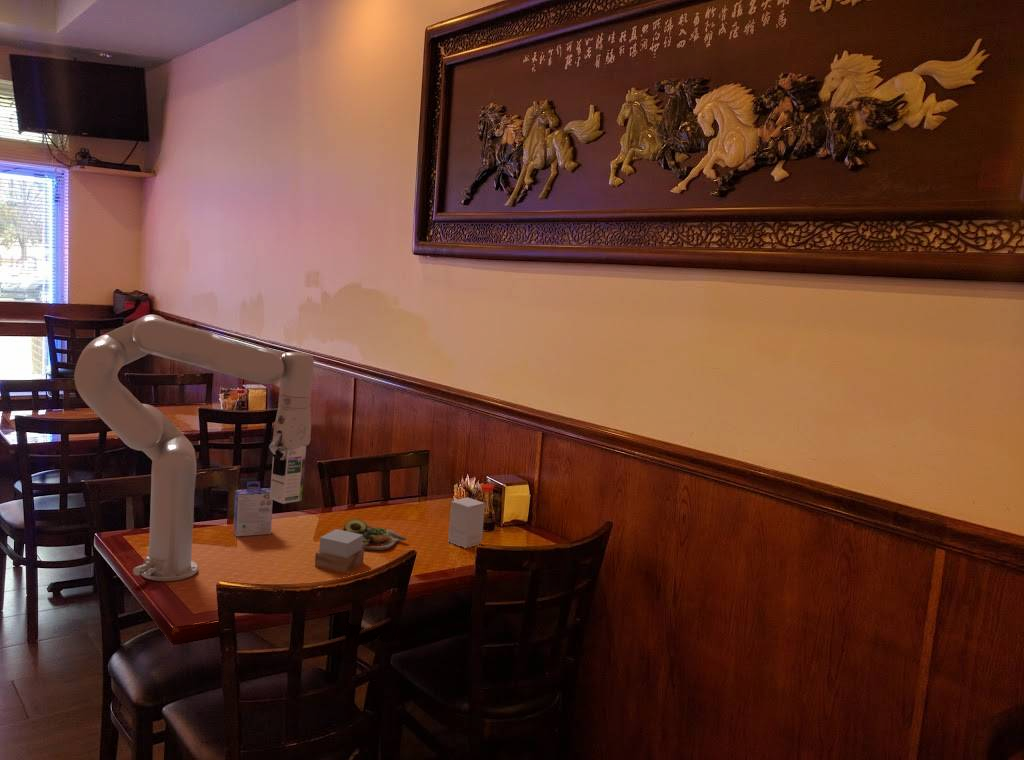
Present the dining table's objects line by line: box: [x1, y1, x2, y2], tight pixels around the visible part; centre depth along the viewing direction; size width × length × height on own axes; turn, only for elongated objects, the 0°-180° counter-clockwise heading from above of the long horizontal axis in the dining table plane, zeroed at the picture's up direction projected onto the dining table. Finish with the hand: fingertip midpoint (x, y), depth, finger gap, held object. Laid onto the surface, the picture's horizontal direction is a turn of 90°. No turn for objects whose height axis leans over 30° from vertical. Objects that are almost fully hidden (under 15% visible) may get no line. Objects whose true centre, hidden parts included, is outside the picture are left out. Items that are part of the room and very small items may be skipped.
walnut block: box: [314, 549, 365, 575], centre depth 206 cm, size 9×9×4 cm
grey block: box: [318, 528, 363, 559], centre depth 205 cm, size 8×8×4 cm
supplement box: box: [447, 497, 486, 549], centre depth 231 cm, size 7×7×13 cm
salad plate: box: [342, 518, 407, 551], centre depth 226 cm, size 19×18×5 cm
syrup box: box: [269, 445, 307, 505], centre depth 198 cm, size 6×6×14 cm
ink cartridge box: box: [232, 480, 274, 537], centre depth 222 cm, size 10×6×14 cm, turn 120°
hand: (287, 471), depth 198 cm, fingers closed on syrup box, 6 cm apart
